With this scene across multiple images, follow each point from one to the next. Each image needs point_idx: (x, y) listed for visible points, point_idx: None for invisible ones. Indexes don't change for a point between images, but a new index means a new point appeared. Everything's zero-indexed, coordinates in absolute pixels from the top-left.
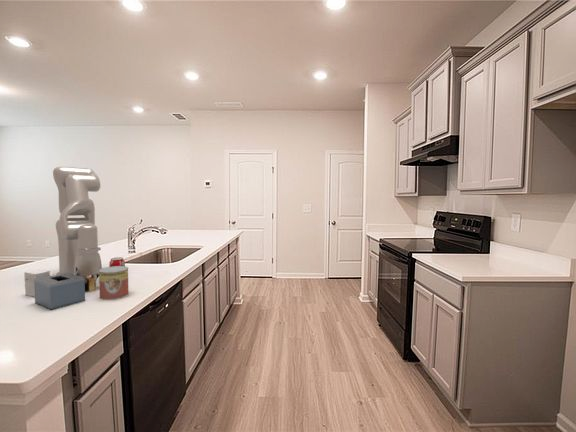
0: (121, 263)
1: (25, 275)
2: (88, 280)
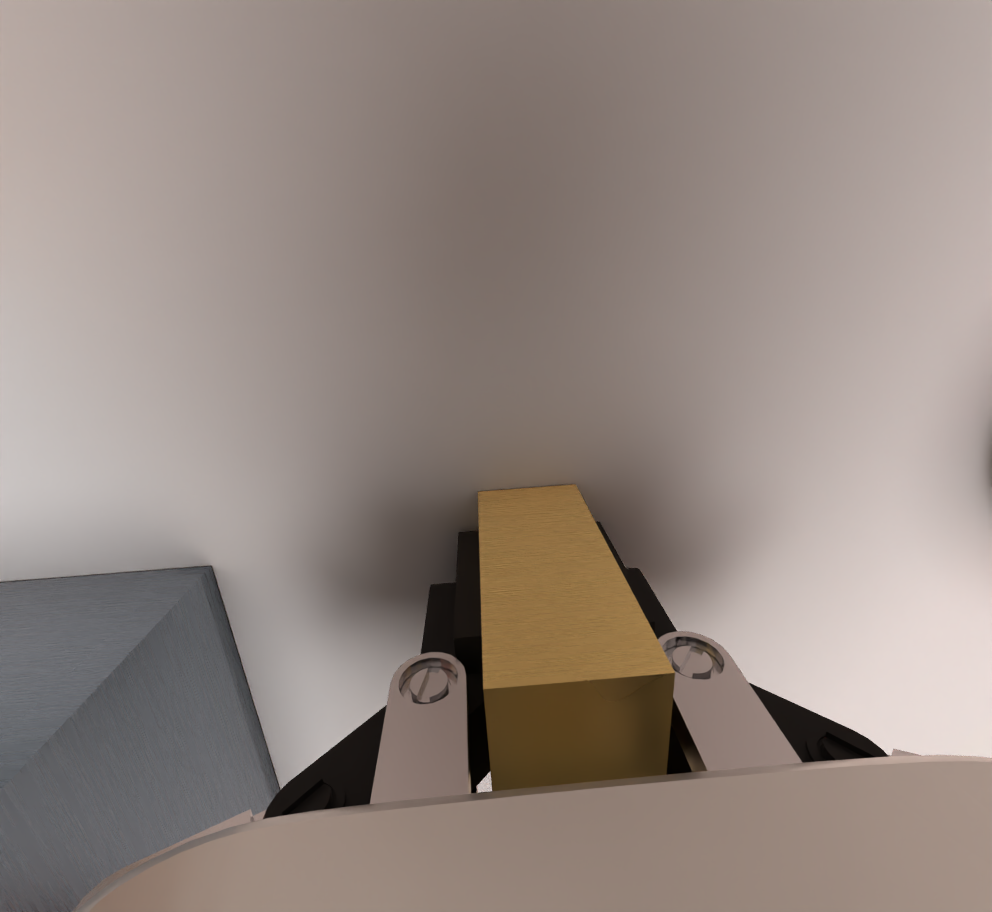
0: None
1: None
2: None
